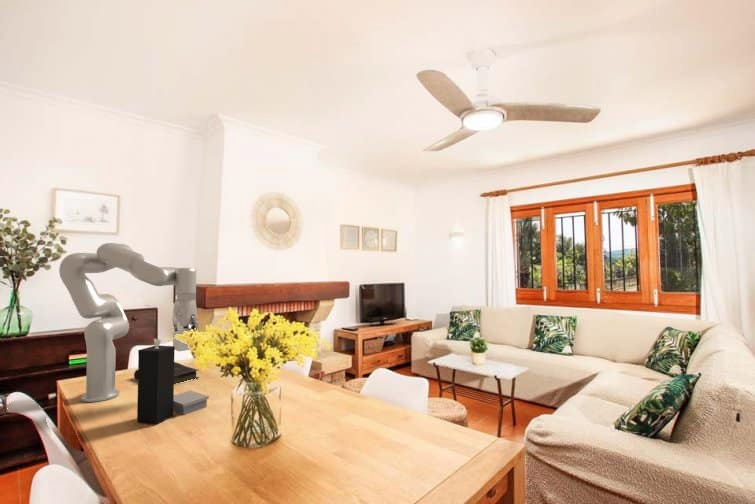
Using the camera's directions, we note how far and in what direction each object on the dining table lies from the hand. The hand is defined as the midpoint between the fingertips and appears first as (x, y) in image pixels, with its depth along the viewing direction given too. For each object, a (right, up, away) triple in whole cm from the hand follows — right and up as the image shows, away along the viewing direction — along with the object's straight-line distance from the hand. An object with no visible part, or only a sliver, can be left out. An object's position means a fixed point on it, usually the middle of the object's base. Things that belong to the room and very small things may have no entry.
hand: (185, 340), depth 153 cm
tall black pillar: (+2, -22, -23) cm, 32 cm away
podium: (+7, -23, -13) cm, 27 cm away
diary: (-21, -25, +24) cm, 40 cm away
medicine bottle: (0, -4, 0) cm, 4 cm away
